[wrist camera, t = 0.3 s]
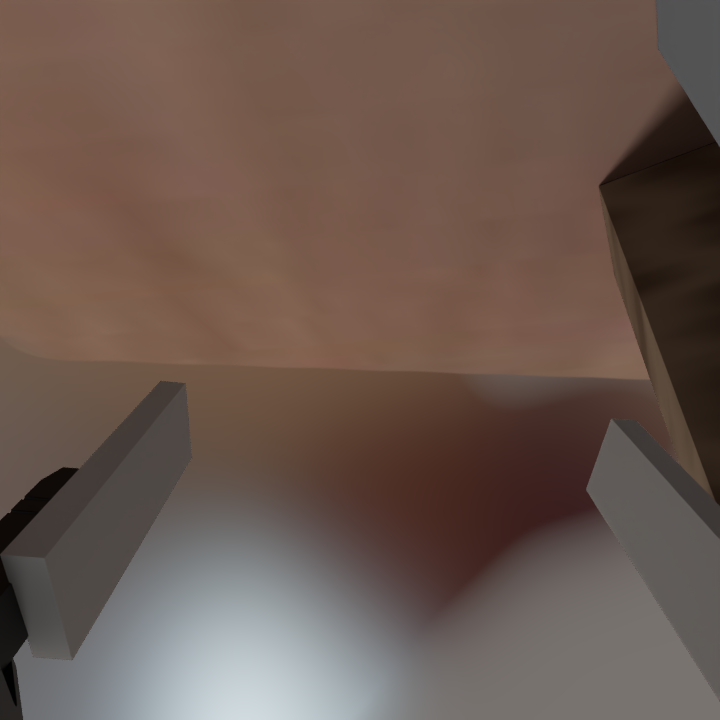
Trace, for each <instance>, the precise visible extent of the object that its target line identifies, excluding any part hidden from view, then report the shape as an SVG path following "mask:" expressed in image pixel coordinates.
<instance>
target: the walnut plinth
mask: <svg viewBox="0 0 720 720" xmlns="http://www.w3.org/2000/svg"><path fill="white" fill-rule="evenodd" d="M599 191H600V197H601V202H602V208H603V213H604V219H605V225H606V230H607V236H608V241H609V247H610V252H611V258H612V264H613V269H614V275H615V278H616V281H617V284H618V287H619V290H620V293H621V296H622V299H623V302H624V305H625V307H626V310H627V313H628V316H629V319H630V322H631V325H632V328H633V331H634V334H635V336H636V339H637V342H638V345H639V348H640V351H641V354H642V357H643V360H644V363H645V366H646V368H647V371H648V374H649V377H650V380H651V383H652V386H653V389H654V392H655V395H656V397H657V400H658V403H659V406H660V409H661V412H662V415H663V418H664V421H665V424H666V426H667V429H668V432H669V435H670V438H671V441H672V444H673V447H674V450H675V452H676V455H677V458H678V461H679V464H680V466H681V467H682V468H683V469H684V470H685V471H686V472H687V473H688V474H689V475H690V476H691V477H692V478H693V479H694V480H695V481H696V482H697V483H698V484H699V485H700V486H701V487H702V488H703V489H704V490H705V491H706V492H707V493H708V494H709V495H710V497H711V498H712V499H713V500H714V501H715V502H716V503H717V504H718V505H719V506H720V147H719V145H718V143H717V142H715V143H713V144H710V145H707V146H705V147H702V148H699V149H697V150H694V151H691V152H689V153H686V154H683V155H681V156H678V157H675V158H673V159H670V160H667V161H665V162H662V163H659V164H657V165H654V166H651V167H649V168H646V169H644V170H641V171H638V172H636V173H633V174H630V175H628V176H625V177H622V178H620V179H617V180H614V181H612V182H609V183H606V184H604V185H601V186H599Z"/></svg>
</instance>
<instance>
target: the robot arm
mask: <svg viewBox="0 0 720 720" xmlns="http://www.w3.org/2000/svg"><path fill="white" fill-rule="evenodd" d="M191 458H192V454H191V442H190V430H189V418H188V406H187V394H186V383H178V382H166V381H160V382H159V383H158V384H157V385H156V386H155V387H154V388H153V390H152V391H151V392H150V393H149V394H148V395H147V396H146V397H145V398H144V399H143V400H142V401H141V403H140V404H139V405H138V406H137V407H136V408H135V409H134V410H133V411H132V412H131V414H130V415H129V416H128V417H127V418H126V419H125V420H124V421H123V422H122V423H121V424H120V425H119V426H118V427H117V429H116V430H115V431H114V432H113V433H112V434H111V435H110V436H109V437H108V438H107V439H106V440H105V441H104V443H103V444H102V445H101V446H100V447H99V448H98V449H97V450H96V451H95V452H94V453H93V454H92V456H91V457H90V458H89V459H88V460H87V461H86V462H85V463H84V464H83V465H82V466H81V468H80V469H78V468H65V467H63V468H61V469H59V470H58V471H56V472H54V473H52V474H51V475H49V476H47V477H46V478H44V479H42V480H41V481H40V482H39V483H38V484H37V485H36V486H35V487H34V488H33V489H32V490H31V491H30V492H29V493H28V494H26V496H25V498H24V500H22V499H21V500H20V501H19V502H18V503H17V504H16V505H15V506H14V508H13V509H11V513H7V514H6V515H5V516H4V517H3V518H2V519H1V520H0V720H23V716H22V708H21V700H20V692H19V685H18V677H17V670H16V665H15V662H14V660H13V657H14V656H15V654H16V653H17V652H18V650H19V649H20V647H21V646H22V644H23V643H24V642H25V640H26V639H28V642H29V645H30V648H31V651H32V654H33V657H37V658H51V659H63V660H73V658H74V657H75V655H76V653H77V651H78V649H79V648H80V646H81V645H82V643H83V641H84V640H85V638H86V636H87V634H88V633H89V631H90V629H91V628H92V626H93V624H94V623H95V621H96V619H97V618H98V616H99V614H100V612H101V611H102V609H103V607H104V606H105V604H106V602H107V601H108V599H109V597H110V595H111V594H112V592H113V590H114V589H115V587H116V585H117V584H118V582H119V580H120V579H121V577H122V575H123V573H124V572H125V570H126V568H127V567H128V565H129V563H130V562H131V560H132V558H133V557H134V555H135V553H136V551H137V550H138V548H139V546H140V545H141V543H142V541H143V540H144V538H145V536H146V534H147V533H148V531H149V529H150V528H151V526H152V524H153V523H154V521H155V519H156V518H157V516H158V514H159V512H160V511H161V509H162V507H163V506H164V504H165V502H166V501H167V499H168V497H169V495H170V494H171V492H172V490H173V489H174V487H175V485H176V484H177V482H178V480H179V479H180V477H181V475H182V473H183V472H184V470H185V468H186V466H187V465H188V463H189V462H190V460H191ZM586 490H587V492H588V493H589V495H590V496H591V498H592V500H593V501H594V503H595V504H596V506H597V508H598V509H599V511H600V513H601V514H602V516H603V517H604V519H605V520H606V522H607V524H608V525H609V527H610V528H611V530H612V531H613V533H614V535H615V536H616V538H617V539H618V541H619V543H620V544H621V546H622V547H623V549H624V550H625V552H626V553H627V555H628V557H629V558H630V560H631V562H632V563H633V565H634V566H635V568H636V570H637V571H638V573H639V574H640V576H641V577H642V579H643V581H644V582H645V584H646V585H647V587H648V589H649V590H650V592H651V593H652V595H653V596H654V598H655V600H656V601H657V603H658V604H659V606H660V608H661V609H662V611H663V612H664V614H665V615H666V617H667V619H668V620H669V622H670V623H671V625H672V627H673V628H674V630H675V631H676V633H677V634H678V636H679V638H680V639H681V641H682V642H683V644H684V645H685V647H686V649H687V650H688V652H689V654H690V655H691V657H692V658H693V660H694V661H695V663H696V665H697V666H698V668H699V669H700V671H701V673H702V674H703V676H704V677H705V679H706V680H707V682H708V684H709V685H710V687H711V688H712V690H713V691H714V693H715V695H716V696H717V698H718V699H719V701H720V506H719V505H718V504H717V503H716V502H715V501H714V500H713V499H712V498H711V497H710V495H709V494H708V493H707V492H706V491H705V490H704V489H703V488H702V487H701V486H700V485H699V484H698V483H697V482H696V481H695V480H694V479H693V478H692V477H691V476H690V475H689V474H688V473H687V472H686V471H685V470H684V469H683V468H682V467H681V466H680V465H679V464H678V463H677V462H676V461H675V460H674V459H673V458H672V457H671V456H670V455H669V454H668V453H667V452H666V451H665V450H664V449H663V448H662V447H661V446H660V444H659V443H658V442H657V441H656V440H654V438H653V437H652V436H651V435H650V434H649V433H648V432H647V431H646V430H645V429H644V428H643V427H642V426H641V425H640V424H639V423H638V422H637V421H635V420H623V419H611V421H610V424H609V427H608V430H607V432H606V435H605V438H604V441H603V444H602V447H601V449H600V452H599V455H598V458H597V460H596V463H595V466H594V469H593V472H592V475H591V477H590V480H589V484H588V486H587V489H586Z"/></svg>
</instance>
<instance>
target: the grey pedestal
mask: <svg viewBox="0 0 720 720" xmlns="http://www.w3.org/2000/svg"><path fill="white" fill-rule="evenodd" d="M656 6H657V30H658V50H659V51H660V53H661V54H662V56H663V58H664V59H665V61H666V62H667V64H668V66H669V67H670V69H671V70H672V72H673V73H674V75H675V77H676V78H677V80H678V81H679V83H680V85H681V86H682V88H683V89H684V91H685V93H686V94H687V96H688V97H689V99H690V100H691V102H692V104H693V105H694V107H695V108H696V110H697V112H698V113H699V115H700V116H701V118H702V120H703V121H704V123H705V124H706V126H707V128H708V129H709V131H710V132H711V134H712V135H713V137H714V139H715V140H716V142H717V143H718V145H719V147H720V0H656Z"/></svg>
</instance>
